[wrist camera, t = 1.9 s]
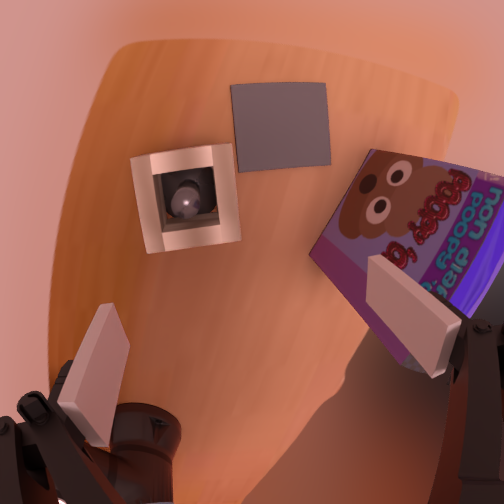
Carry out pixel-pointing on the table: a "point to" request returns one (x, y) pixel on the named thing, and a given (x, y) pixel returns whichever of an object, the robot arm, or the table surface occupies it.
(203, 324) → the table surface
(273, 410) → the table surface
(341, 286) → the cereal box
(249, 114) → the rubber mat
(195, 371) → the table surface
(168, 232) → the square frame
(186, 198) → the steel stand
